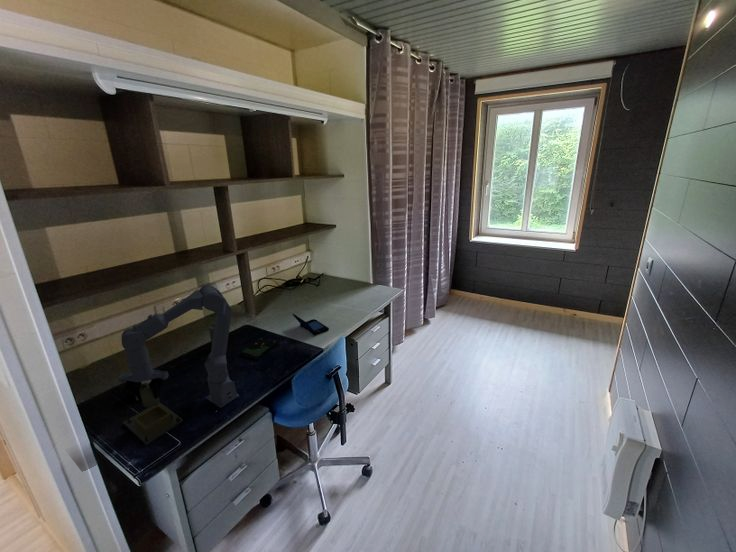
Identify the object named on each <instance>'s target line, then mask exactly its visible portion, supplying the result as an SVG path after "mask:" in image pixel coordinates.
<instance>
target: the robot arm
mask: <svg viewBox="0 0 736 552" xmlns="http://www.w3.org/2000/svg"><path fill="white" fill-rule="evenodd" d="M204 308H205V310H208V311H210V312H212V313H215V320H214V324H215V326H214V333H213V341H212V343H211V349H210V353H208V357H207V360H206V361H205V362H204V369H205V370H206V372H207V374H208V375H207V378H206V380H207V385H208V391H209V395H208V396H206V400H207V401H209V402H210V403H212V404H214V405H215V406H216V407H219V408H220V409H222V408H223V407H225V406H227V404H230V403H231V402H233V400H235V399H237V398H238V397H239V396H240V395H239V393H237V390H236V384H235V382H234V381H232V380H231V378H230V377H229V371H228V368H227V365H228V363H227V356H226V354H227V347H228V342H229V341H228V340H229V335H230V326H231V320H232V314H233V313H232V310H233V309H232V307H231V306H230V305H229V302H228V301H227V299H226V298H225V296H223V294H222V292H220V291H219V290H218V289H217V288H216V287H215V286H213V285H203V286H201V287H200V288H198V289H196V290H194V291H193V292H191V293H190V294H189V295H188V296H186V297H185V298H184V299H182V300H181V301H179V302H178V303H176V304H175V305H173V306H171V308H168V310H166V311H165V312H163V313H154V314H149V315H148V316H147V318H146V319H144V320H143V321H141V322H139V323H138V324H134V325H132V327H128V328H126V329H125V330H123V332H122V333H121V335H120V336H121V337H120V338H121V345H122V347H123V349H124V352H125V357H126V360H127V363H128V366H129V371H130V372H128V373H122V374H120V375H119V376H118V377H117V379H118V383H124V382H126V384H125V388H126V389H127V390H129V391H131V392H132V393H133V395H134V396H136V397H137V398H138V399H139V400H138V401H142V398H141V395H140V391H139V388H140V387H141V386H142V382H143V381H147V380H152V381H151V382H150V383H149V384H148V386H149V387H150V388H151V390H152V392H153V395H154V398H155V399H157V398H158V397H159V398H160V395H161V387H162V381H164V380H168V378H169V372H168V370H167V371H164V370H157V369H153V365H152V362H151V361H152V360H151V358H150V354H149V351H148V348H147V346H146V342H147V341H148V340H150V339H151V338H153V337H155V336H156V335H158V334H159V333H162V332H163V331H164V330H165V329H168V326H169V322H172V321H173V320H175V319H177V318H179V317H181V316H182V315H184V314H186V313H188V312H189V311H191V310H196V311H197V310H198V311H203V310H204ZM136 397H135V398H136Z"/></svg>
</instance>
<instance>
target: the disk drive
mask: <svg viewBox="0 0 736 552" xmlns="http://www.w3.org/2000/svg"><path fill="white" fill-rule="evenodd" d="M279 344H280V342H279V340H278V339H273V338H268V337H266V336H261V337H259V338H258V339H256V340H255V341H254V342H252V343H251V344H250V345H248V346H247V347H245V348H244V349H242V350H241V351H240V353H241V356H242V357H246V358H249V359H253V360H256V361H257V360H258V361H260V360H261V359H263V358H264V357H265V356H266V355H268V353H270V352H271V351H273V350H274V349H275V348H277V347H278V346H279Z"/></svg>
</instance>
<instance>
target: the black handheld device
mask: <svg viewBox="0 0 736 552" xmlns="http://www.w3.org/2000/svg"><path fill="white" fill-rule="evenodd" d="M292 316H293V317H294V318H295V319H296V320H297V322H298V323H299V324H300V327H301V328H303V329H304V330H306V331H308V332H309V333H310V334H312V335H313V336H314V337H316V336H317V335H321V334H323V333H326V332H329V330H330V327H328V326H327V325H325V324H324V323H322V322H321V321H318V320H317V319H315V318H313V319H309V320H307V321H305V320H304V319H302V318H301V317H299V316H298V315H296V314H295V313H292Z"/></svg>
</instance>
